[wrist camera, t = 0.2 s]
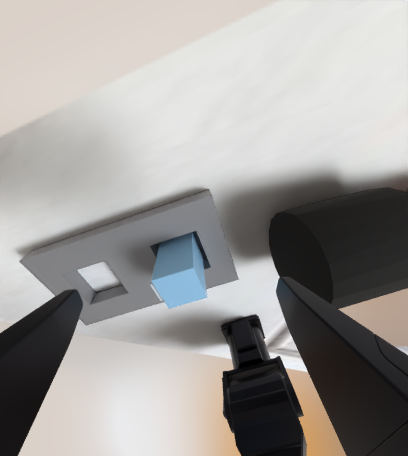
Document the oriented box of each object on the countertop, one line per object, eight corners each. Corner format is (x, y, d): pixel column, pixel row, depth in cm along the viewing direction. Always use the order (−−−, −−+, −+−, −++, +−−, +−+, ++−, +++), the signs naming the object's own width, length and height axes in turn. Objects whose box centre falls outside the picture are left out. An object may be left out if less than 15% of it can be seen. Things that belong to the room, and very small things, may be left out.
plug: (202, 254, 25) (207, 297, 18) (169, 265, 25) (163, 310, 19) (191, 229, 23) (193, 267, 17) (156, 241, 23) (145, 282, 17)
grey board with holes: (235, 269, 26) (238, 279, 24) (92, 312, 28) (86, 325, 26) (209, 189, 21) (211, 195, 19) (32, 250, 22) (19, 261, 21)
